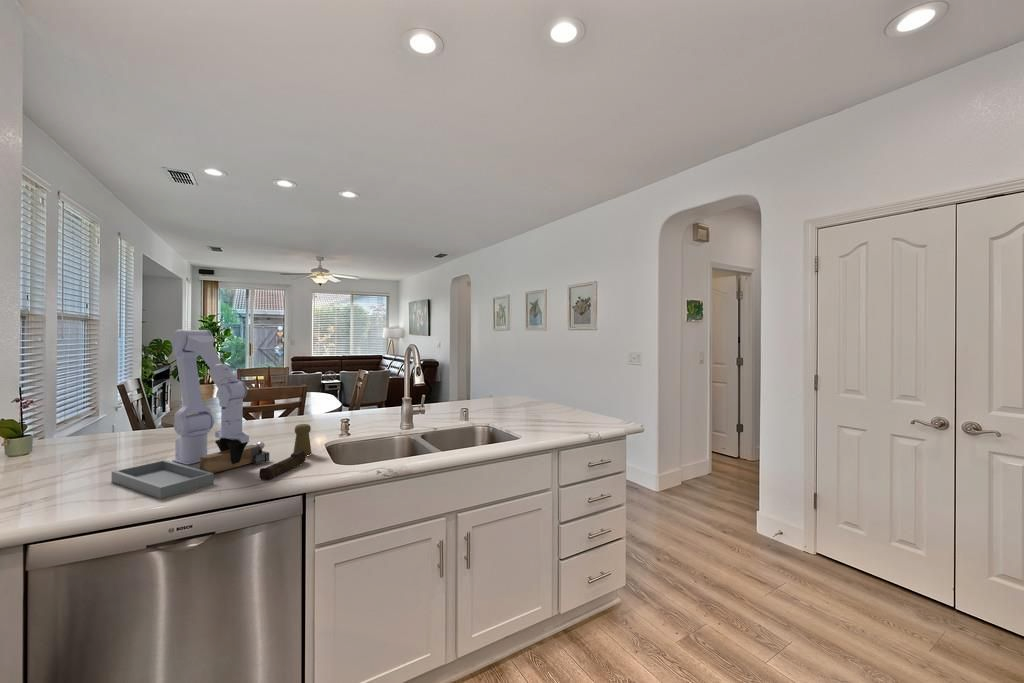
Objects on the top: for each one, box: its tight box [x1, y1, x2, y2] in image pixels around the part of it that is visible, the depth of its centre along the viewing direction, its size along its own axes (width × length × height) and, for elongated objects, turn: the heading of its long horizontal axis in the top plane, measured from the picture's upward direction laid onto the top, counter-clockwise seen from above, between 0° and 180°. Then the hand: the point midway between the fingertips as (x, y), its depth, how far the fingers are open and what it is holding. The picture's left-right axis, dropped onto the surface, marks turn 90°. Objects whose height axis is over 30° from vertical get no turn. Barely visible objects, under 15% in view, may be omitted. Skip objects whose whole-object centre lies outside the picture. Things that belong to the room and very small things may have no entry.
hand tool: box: [258, 450, 307, 481], centre depth 135 cm, size 19×4×5 cm, turn 168°
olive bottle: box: [292, 423, 312, 457], centre depth 152 cm, size 6×6×11 cm
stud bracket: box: [252, 441, 270, 465], centre depth 144 cm, size 8×5×6 cm, turn 64°
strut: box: [199, 444, 259, 474], centre depth 137 cm, size 4×16×5 cm, turn 154°
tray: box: [111, 459, 215, 500], centre depth 122 cm, size 26×13×3 cm, turn 64°
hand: (231, 461), depth 137 cm, fingers closed on strut, 4 cm apart
